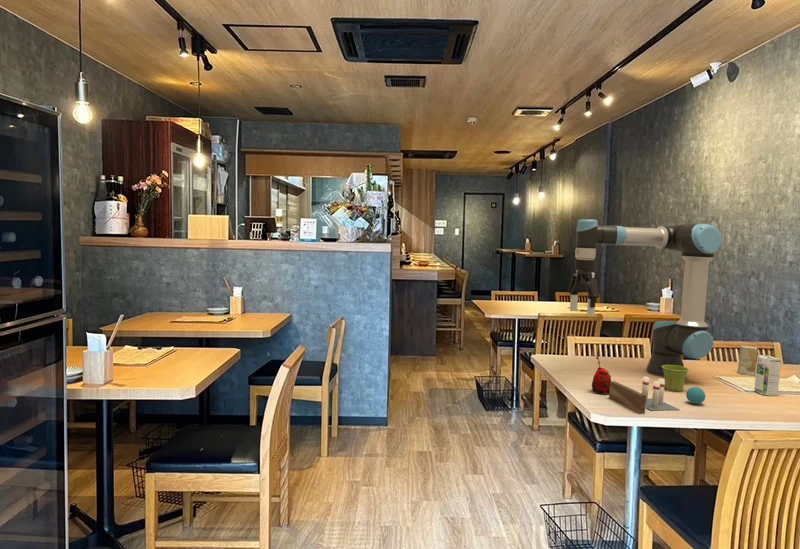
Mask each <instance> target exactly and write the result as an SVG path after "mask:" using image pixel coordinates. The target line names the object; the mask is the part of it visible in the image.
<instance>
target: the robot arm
mask: <svg viewBox="0 0 800 549" xmlns="http://www.w3.org/2000/svg"><path fill="white" fill-rule="evenodd" d="M598 223H599V222H598V220H597V219H588V218H586V219H583V218H582V219H579V220H578V221H577V224H576V230H575V232H576V237H575V250H574V253H575V254H574V255H575V256H574V257H575V260H574V270H572V276H571V280H570V283H569V286H568V289H567V293H569V294H570V304H569V305H570V306H569V312H578V303H579V302H578V301H579V290H580V288H581V287H582V285H584V286H585V290H586V292H587V295H588V297H587V306H586V307H587V310H586V316H587V317H595V315H596V314H595V312H596V311H595V310H596V300H597V299H599V298H600V292H599V288H598V281H597V273H596V272H592V271H593V270H595V268H596V260H595V259H596V255H597V245H605V246H606V245H609V246H639V247H640V246H641V247H643V246H644V247H645V246H646V247H655V248H656V249H659V250H660V249H661V250H668V251H669V250H670V251H675V252H681V256H680V257H681V258H682V259H683V260H684V271H683V273H684V274H683V281H682V282H683V283H682V297H681V309H680V310H681V311H680V318H679V319H678V320H677V321H671V320H668V321H667V320H662V321H661V320H659V321H655V323H654V325H653V329H652V330H653V331H652V332H653V336H652V350H651V351H652V352H651V356H650V358H649V360H648V363H647V365H646V372H647V373H649V374H651V375H653V376H659V377H663V378H664V371H663V368H662V366H663V365H677V366H682V367H685V365H684V362H683V356H684V357H687V358H690V359H691V358H692V359H695V360H696V359H702V358H704V357H706V356H707V355H708V354H710V353H711V351H712V349H713V347H714V337H713V336H712V334H711V333H709V332H708V330H709V325H708V324H707V322H706V321H705V315H706V301H707V291H708V281H709V280H708V279H709V277H708V276H709V268H710V267H709V266H710V262H711V261H712V260H713V259H714V257H715V253H716V252H718V251H719V249H720V248H721V246H722V244H723V243H722V242H723V239H722V234H721V232H720V230H718V228H717V227H715V226H714V225H712V224H706V223H690V224H687V223H684V224H677V225H676V224H675V225H666V226H665V225H660V226H659V225H658V226H657V228H656V227H655V228H653V227H631V226H630V227H629V226H622V225H606V224H605V225H603V224H602V225H600V224H598ZM575 269H576V270H575Z"/></svg>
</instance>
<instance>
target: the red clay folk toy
mask: <svg viewBox="0 0 800 549" xmlns="http://www.w3.org/2000/svg"><path fill="white" fill-rule="evenodd" d="M595 354H596V356H595V357H596V358H595V359H596V360H597V361H598V362H597V364H598V367H597V370H596V371H595V372H594V375H593V378H592V382H591V391H594V393H596V394H599V395H601V394H602V395H608V394H609V392H610V381H612V376H611V375H610V373H609V371H608V370H607V369H605V367H602V366H601V365H600V364H601V361H600V358H599V356H601V353H600V354H598V352H595Z"/></svg>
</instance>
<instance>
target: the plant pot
mask: <svg viewBox="0 0 800 549" xmlns="http://www.w3.org/2000/svg"><path fill="white" fill-rule="evenodd" d="M662 368H663V371H664V377H663V379H665V386H664V389H665V390H667V391H671V392H673V391H675V392H683V390H684V385H685V381H686V377H687V374H688V372H689V370H690V368H688V367H685V366H684V367H682V366H677V365H663V366H662Z"/></svg>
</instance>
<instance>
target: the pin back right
mask: <svg viewBox="0 0 800 549" xmlns="http://www.w3.org/2000/svg"><path fill="white" fill-rule="evenodd" d="M641 385H642V386H641V394H644V395H646V402H647V400H648V399H649V398H648V397H649V385H650V377H649V376H645V375H644V376H642V383H641Z"/></svg>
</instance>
